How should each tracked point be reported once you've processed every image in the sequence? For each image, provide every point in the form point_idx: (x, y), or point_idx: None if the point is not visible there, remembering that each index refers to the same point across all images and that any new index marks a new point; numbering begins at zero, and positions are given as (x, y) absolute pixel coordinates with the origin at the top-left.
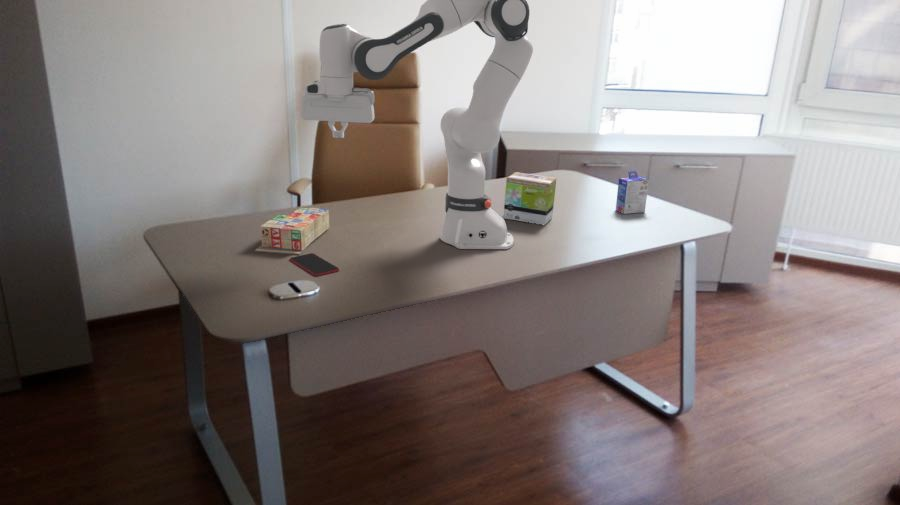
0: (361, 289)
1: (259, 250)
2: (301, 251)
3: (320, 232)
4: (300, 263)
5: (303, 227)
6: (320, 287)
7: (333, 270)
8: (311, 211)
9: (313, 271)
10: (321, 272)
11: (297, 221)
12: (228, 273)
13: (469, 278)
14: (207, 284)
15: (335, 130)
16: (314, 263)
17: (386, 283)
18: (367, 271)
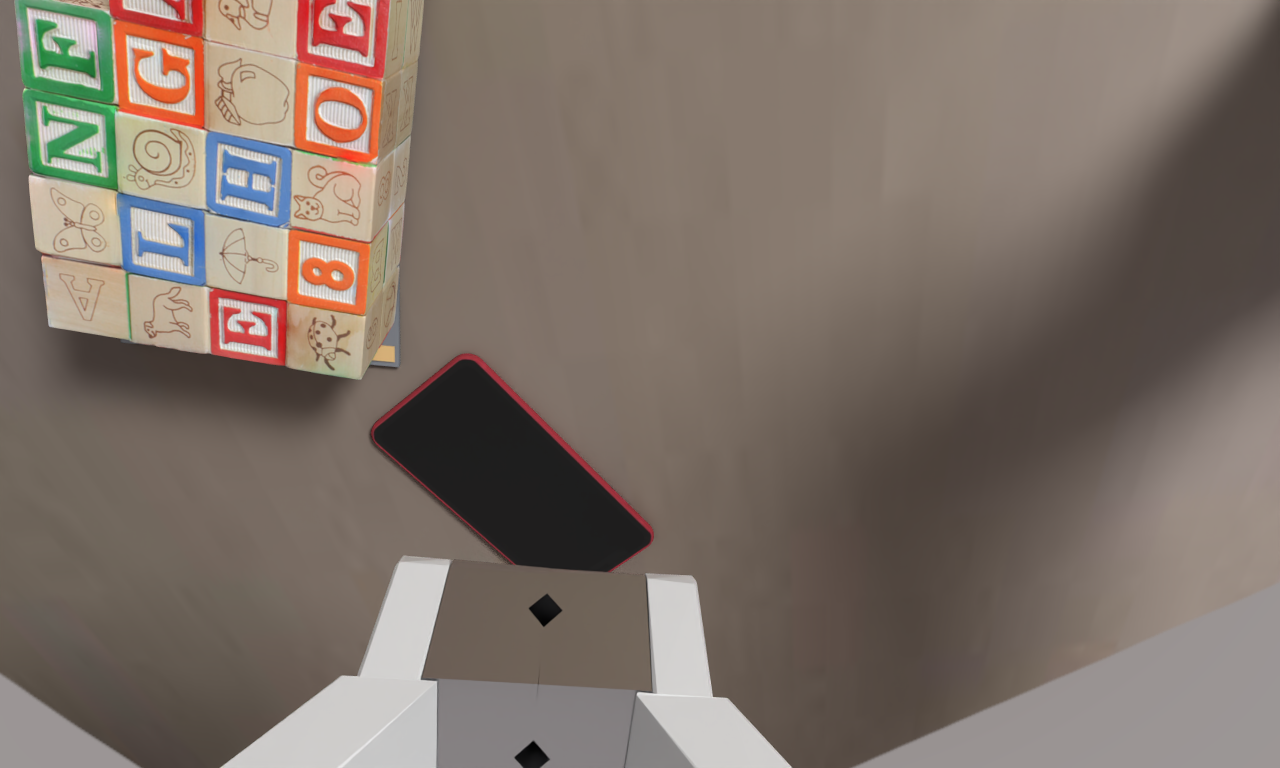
0: (767, 682)
1: None
2: (395, 328)
3: (419, 10)
4: (450, 495)
5: (357, 322)
6: None
7: (630, 557)
8: None
9: None
10: None
11: (260, 195)
12: (162, 603)
13: (1244, 553)
14: (145, 698)
15: (432, 754)
16: (519, 489)
17: (869, 628)
18: (787, 527)
